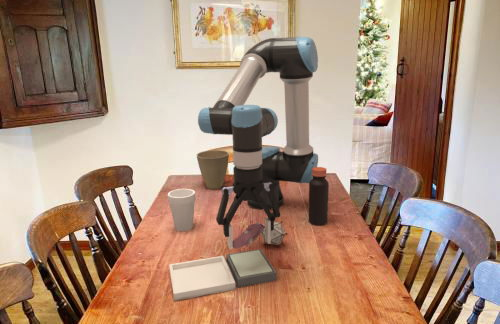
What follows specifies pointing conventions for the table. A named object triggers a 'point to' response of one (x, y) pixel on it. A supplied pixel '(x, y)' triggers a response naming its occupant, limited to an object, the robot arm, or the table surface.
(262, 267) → the pale green flat panel
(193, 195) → the foam cup
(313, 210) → the bottle
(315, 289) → the table surface
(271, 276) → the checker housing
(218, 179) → the plant pot
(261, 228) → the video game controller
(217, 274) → the tray
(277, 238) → the game die
